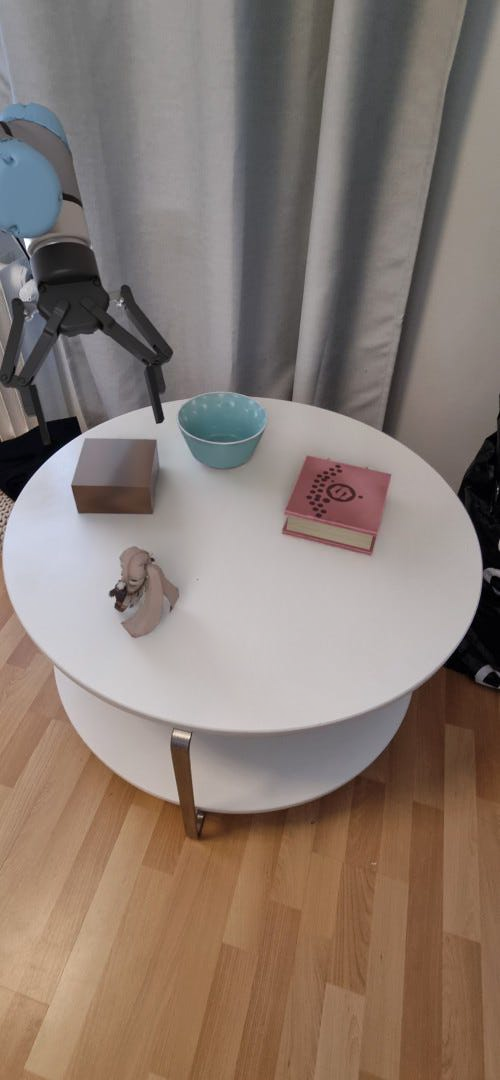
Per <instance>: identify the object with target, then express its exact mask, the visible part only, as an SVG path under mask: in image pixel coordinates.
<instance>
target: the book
mask: <svg viewBox="0 0 500 1080" xmlns="http://www.w3.org/2000/svg"><path fill="white" fill-rule="evenodd" d="M391 479H392V473H389V472H383V471H380V470H376V469H370V468H369V467H368V466H365V467H361V466H356V465H353V464H347V463H344V462H339V461H334V460H331V459H330V458H329V457H327V458H321V457H316V456H312V455H308V454H307V455H306V456H305V458H304V461H303V463H302V466H301V468H300V471H299V474H298V475H297V478H296V480H295V483H294V486H293V488H292V490H291V493H290V495H289V498H288V501H287V503H286V504H285V505H286V506H285V508H284V511H283V515H285V516H287V517H286V520H285V521H284V522H285V523H284V525H283V527H282V530H281V534H282V535H285V536H289V537H293V538H297V539H302V540H306V541H309V542H313V543H316V544H317V543H318V544H322V545H325V546H329V547H334V548H337V549H341V550H345V551H349V552H352V553H353V552H354V553H358V554H362V555H365V556H369V557H372V556H373V552H374V548H375V544H376V541H377V538H378V535H379V530H380V526H381V522H382V517H383V514H384V508H385V504H386V500H387V496H388V491H389V487H390V483H391Z"/></svg>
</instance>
